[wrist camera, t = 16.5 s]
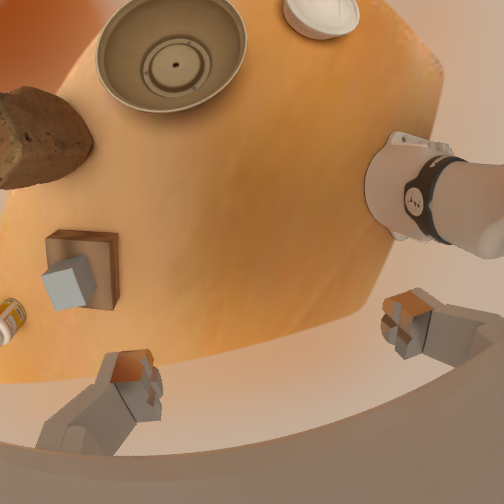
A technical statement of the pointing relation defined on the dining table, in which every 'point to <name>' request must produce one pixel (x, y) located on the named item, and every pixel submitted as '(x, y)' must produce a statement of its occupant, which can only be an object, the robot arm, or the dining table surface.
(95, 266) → the walnut block
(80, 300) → the slate cube
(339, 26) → the ramekin
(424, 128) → the dining table surface
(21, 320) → the supplement bottle
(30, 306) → the dining table surface
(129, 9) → the planter bowl
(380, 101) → the dining table surface
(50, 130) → the brown rounded block
